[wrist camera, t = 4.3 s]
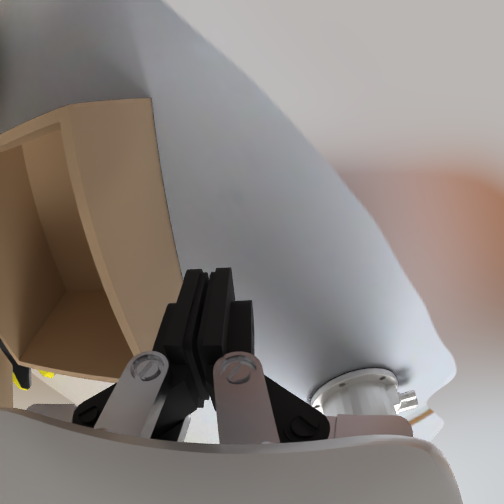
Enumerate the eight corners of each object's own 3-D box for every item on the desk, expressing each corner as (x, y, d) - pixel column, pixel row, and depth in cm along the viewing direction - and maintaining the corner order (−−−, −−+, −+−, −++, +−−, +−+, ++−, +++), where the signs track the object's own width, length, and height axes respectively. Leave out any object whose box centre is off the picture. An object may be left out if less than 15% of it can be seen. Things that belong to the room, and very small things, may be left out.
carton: (151, 97, 19) (68, 104, 9) (185, 289, 27) (157, 386, 17) (20, 138, 19) (-67, 175, 10) (67, 292, 27) (18, 364, 18)
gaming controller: (72, 349, 32) (20, 296, 28) (56, 379, 28) (-2, 324, 24) (36, 371, 36) (-6, 331, 32) (23, 395, 32) (-21, 353, 28)
